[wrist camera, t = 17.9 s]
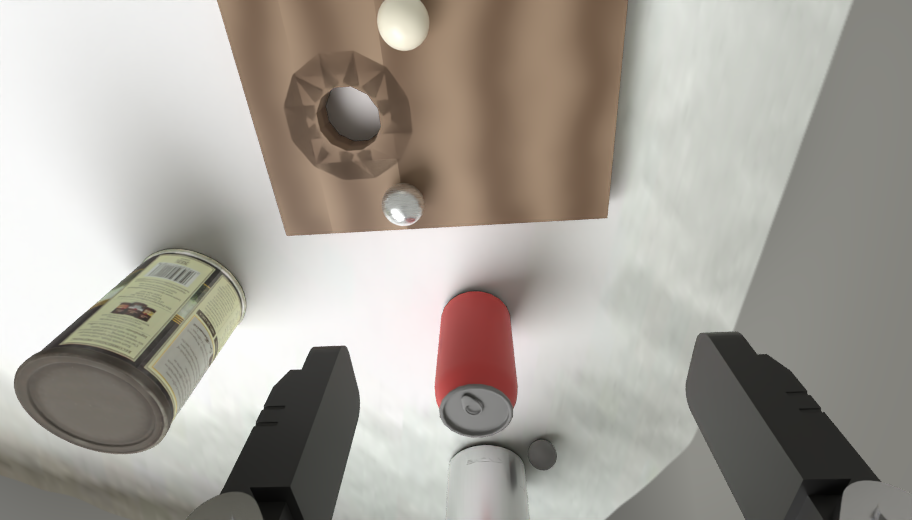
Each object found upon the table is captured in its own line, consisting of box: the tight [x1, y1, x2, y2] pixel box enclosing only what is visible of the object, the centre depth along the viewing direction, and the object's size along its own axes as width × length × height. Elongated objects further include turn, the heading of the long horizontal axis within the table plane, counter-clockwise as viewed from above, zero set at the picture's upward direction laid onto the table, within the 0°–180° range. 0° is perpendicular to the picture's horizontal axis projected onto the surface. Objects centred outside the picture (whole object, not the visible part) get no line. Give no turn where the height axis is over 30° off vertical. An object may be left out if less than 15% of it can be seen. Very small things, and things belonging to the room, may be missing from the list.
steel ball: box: [382, 183, 425, 226], centre depth 35 cm, size 3×3×3 cm
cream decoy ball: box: [377, 0, 429, 51], centre depth 29 cm, size 3×3×3 cm
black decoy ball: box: [528, 440, 557, 470], centre depth 53 cm, size 3×3×3 cm
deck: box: [217, 0, 628, 236], centre depth 34 cm, size 26×18×2 cm
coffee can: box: [14, 249, 246, 454], centre depth 39 cm, size 10×10×14 cm
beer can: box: [435, 291, 517, 437], centre depth 40 cm, size 7×7×12 cm
